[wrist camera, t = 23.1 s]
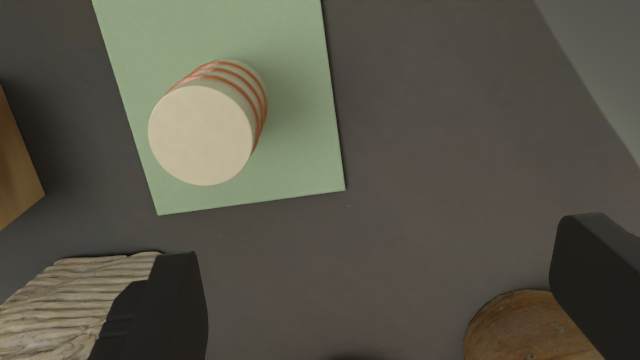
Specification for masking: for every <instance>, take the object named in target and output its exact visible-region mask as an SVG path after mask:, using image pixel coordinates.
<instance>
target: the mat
mask: <svg viewBox="0 0 640 360" xmlns="http://www.w3.org/2000/svg"><path fill="white" fill-rule="evenodd" d="M92 3H93V6H94V10H95V13H96V16H97V19H98V23H99V26H100V29H101V32H102V36H103V39H104V42H105V45H106V49H107V52H108V55H109V58H110V62H111V65H112V68H113V71H114V75H115V78H116V81H117V84H118V88H119V91H120V94H121V97H122V101H123V104H124V107H125V110H126V114H127V117H128V120H129V123H130V127H131V130H132V133H133V136H134V140H135V143H136V146H137V149H138V153H139V156H140V159H141V162H142V166H143V169H144V172H145V175H146V179H147V182H148V185H149V188H150V192H151V195H152V198H153V201H154V205H155V208H156V211H157V214H158V215H166V214H173V213H181V212H188V211H196V210H203V209H210V208H218V207H225V206H233V205H240V204H248V203H255V202H263V201H270V200H278V199H285V198H292V197H300V196H307V195H315V194H322V193H330V192H337V191H345V190H346V189H345V182H344V174H343V167H342V159H341V152H340V144H339V137H338V129H337V122H336V114H335V107H334V99H333V92H332V84H331V77H330V69H329V62H328V54H327V47H326V39H325V32H324V24H323V17H322V9H321V2H320V0H92ZM221 58H231V59H236V60H239V61H242V62H244V63H246V64H248V65H250V66H251V67H252V68H253V69H255V70H256V71H257V72H258V74H259V75H260V76H261V78H262V79H263V81H264V83H265V85H266V88H267V92H268V108H267V117H266V120H265V123H264V125H263V128H262V132H261V134H260V136H259V140H258V143H257V146H256V148H255V150H254V152H253V153H252V155H251V156H250V158H249V160H248V162H247V164H246V165H245V167H244V168H243V169H242V170H241V172H239V173H238V174H237V175H236V176H235V177H233V178H232V179H230V180H228V181H226V182H224V183H221V184H217V185H211V186H199V185H193V184H189V183H186V182H183V181H181V180H179V179H177V178H175V177H174V176H172V175H171V174H169V173H168V172H167V171H166V170H165V169H164V168H163V167H162V166H161V165H160V164H159V163H158V161H157V160H156V158H155V157H154V155H153V153H152V150H151V148H150V145H149V140H148V132H147V131H148V122H149V118H150V115H151V112H152V110H153V109H154V107H155V105H156V104H157V103H158V101H159V100H160V99H161V98H162V97H164V95H165V94H166V93H167V91H168V90H169V89H170V88H171V87H172V86H173V85H175V84H176V83H178V82H179V81H181V80H182V79H183V78H184V77H185V76H187V75H188V74H190V73H191V72H192V71H193V70H195V69H196V68H197V67H199V66H201V65H203V64H206V63H208V62H210V61H213V60H216V59H221Z"/></svg>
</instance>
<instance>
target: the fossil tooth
mask: <svg viewBox="0 0 640 360" xmlns="http://www.w3.org/2000/svg"><path fill="white" fill-rule="evenodd" d="M159 254H161V253H159V252H141V253H138V254H135V255H132V256H129V257H127V256H126V255H119V256H107V257H83V258H66V259H60V260H58V261H56V262H55V263H54V265H53V266H51V267H47V268H46V269H45V270H44V271H43V273H40V274H38V275H37V276H36V278H35V279H34V280H31V281H29V282H28V283H27V284H26V286H25V287H23V288H21V289H19V290H18V291H17V292H16V293H15V294H13V295H12V296H11V297H9V298H8V299H7V300H6V301H5V302H4V303H3V304H1V305H0V360H85V359H87V358H88V357H89V355H90V353H91V350H92V348H93V346H94V344H95V341H96V339H98V338H99V332H100V330H101V328H102V326H103V323H104V322H106V317H107V314H108V312H109V310H110V308H111V306H112V303H113V301H114V299H115V298H116V297H117V296H118V295H119V294H120V293H121V292H122V291H123V290H124V289H125V288H126V287H127V286H128V285H129V284H130V283H131V282H132V281H140V280H148V277H149V274H150V272H151V269H152V266H153V264H154V261H155V258H156V256H157V255H159Z"/></svg>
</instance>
